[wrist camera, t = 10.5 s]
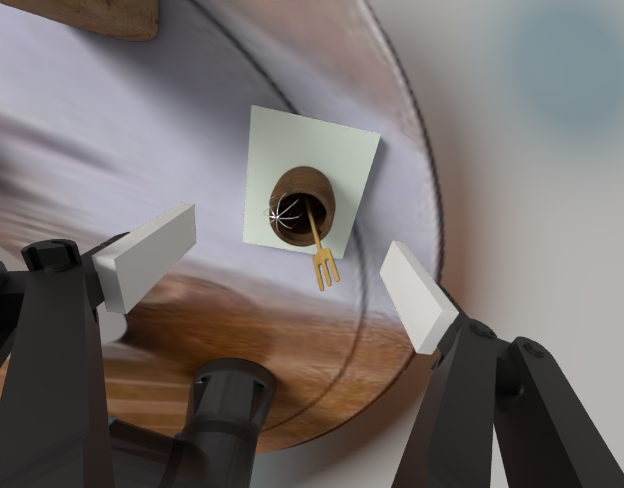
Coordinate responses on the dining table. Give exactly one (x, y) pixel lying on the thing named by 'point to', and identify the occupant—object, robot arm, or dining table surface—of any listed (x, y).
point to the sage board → (305, 152)
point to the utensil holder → (305, 214)
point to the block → (99, 15)
